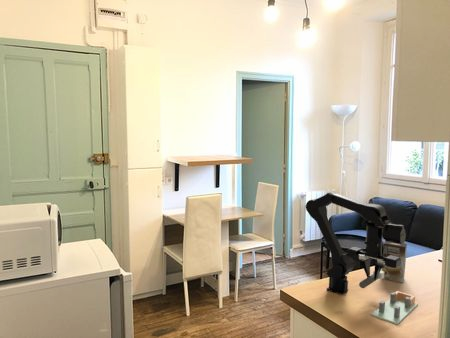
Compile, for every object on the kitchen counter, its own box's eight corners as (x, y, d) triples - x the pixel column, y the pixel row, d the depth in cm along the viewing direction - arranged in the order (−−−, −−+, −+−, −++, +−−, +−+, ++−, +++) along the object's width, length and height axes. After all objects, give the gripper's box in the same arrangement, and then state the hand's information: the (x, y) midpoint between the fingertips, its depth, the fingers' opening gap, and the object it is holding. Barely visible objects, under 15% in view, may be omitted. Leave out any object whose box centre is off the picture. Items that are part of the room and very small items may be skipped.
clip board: (371, 315, 130) (371, 304, 130) (393, 297, 145) (393, 287, 145) (397, 324, 124) (398, 313, 124) (417, 304, 139) (418, 294, 139)
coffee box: (380, 278, 164) (382, 243, 163) (382, 273, 170) (385, 239, 168) (403, 283, 160) (405, 246, 158) (404, 278, 165) (407, 243, 163)
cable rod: (356, 287, 135) (357, 281, 135) (375, 275, 148) (376, 269, 147) (365, 290, 133) (365, 283, 133) (384, 277, 145) (384, 271, 145)
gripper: (407, 239, 139) (405, 279, 140) (359, 230, 152) (357, 267, 153) (396, 245, 131) (394, 288, 132) (347, 235, 144) (345, 274, 145)
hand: (372, 278), depth 141 cm, fingers closed on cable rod, 2 cm apart
